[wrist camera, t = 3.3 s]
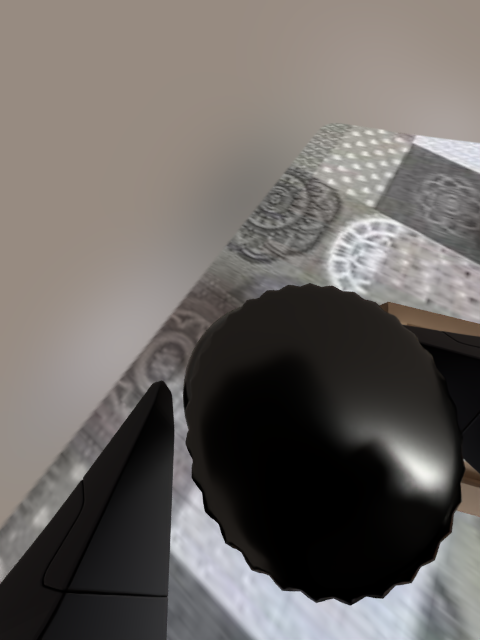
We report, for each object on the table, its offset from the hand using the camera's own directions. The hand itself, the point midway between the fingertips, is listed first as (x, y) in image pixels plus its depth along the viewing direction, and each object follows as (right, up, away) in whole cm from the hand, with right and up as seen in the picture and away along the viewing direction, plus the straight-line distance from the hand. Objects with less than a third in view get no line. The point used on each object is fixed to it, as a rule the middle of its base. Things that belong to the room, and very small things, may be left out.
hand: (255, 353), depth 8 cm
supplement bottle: (0, -3, +6) cm, 7 cm away
